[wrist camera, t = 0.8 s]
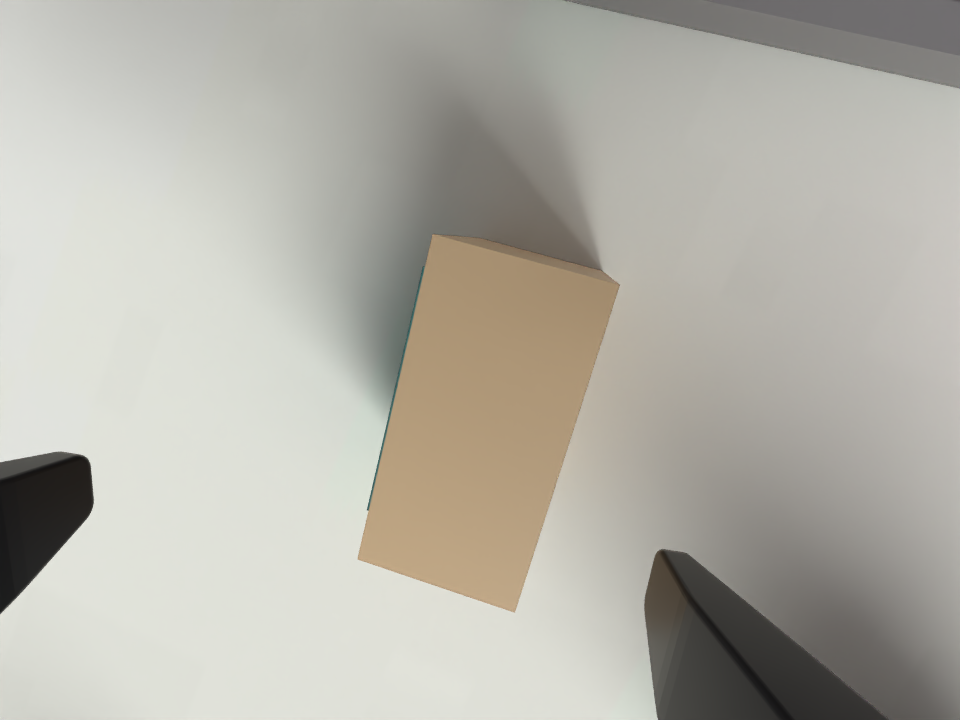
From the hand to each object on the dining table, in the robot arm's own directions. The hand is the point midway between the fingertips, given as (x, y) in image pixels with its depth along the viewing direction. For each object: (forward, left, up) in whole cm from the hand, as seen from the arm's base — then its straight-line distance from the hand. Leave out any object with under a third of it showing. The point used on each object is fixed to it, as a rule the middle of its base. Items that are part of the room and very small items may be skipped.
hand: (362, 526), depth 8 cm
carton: (-1, 0, -13) cm, 13 cm away
